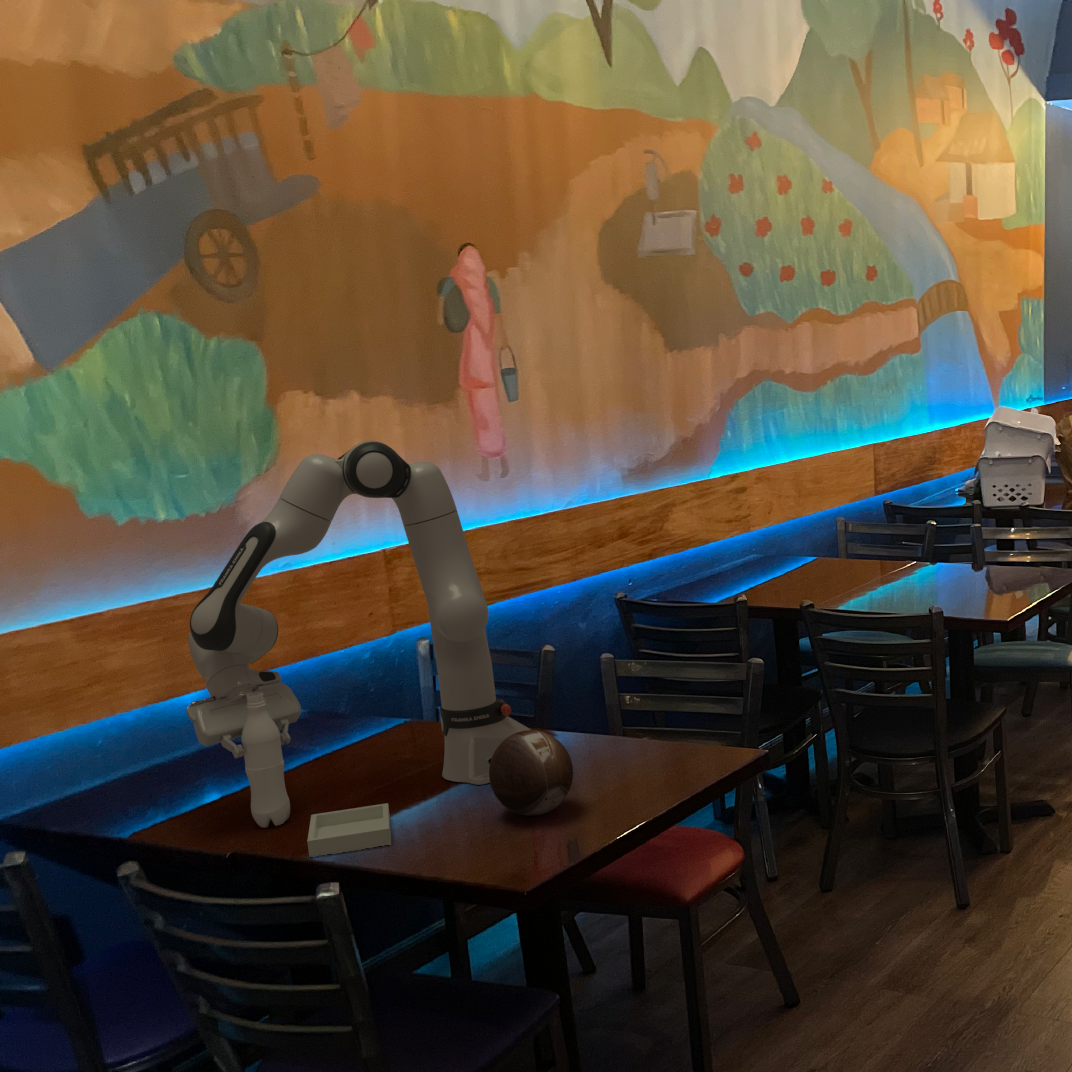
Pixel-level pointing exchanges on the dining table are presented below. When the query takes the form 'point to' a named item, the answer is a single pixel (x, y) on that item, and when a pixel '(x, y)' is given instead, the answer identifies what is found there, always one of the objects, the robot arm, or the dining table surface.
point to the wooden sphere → (531, 772)
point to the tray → (349, 830)
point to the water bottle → (264, 764)
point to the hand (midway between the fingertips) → (263, 748)
